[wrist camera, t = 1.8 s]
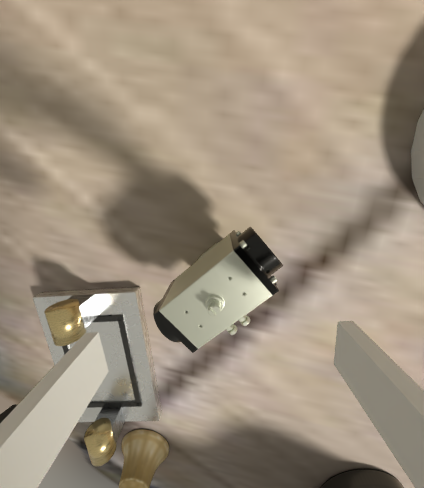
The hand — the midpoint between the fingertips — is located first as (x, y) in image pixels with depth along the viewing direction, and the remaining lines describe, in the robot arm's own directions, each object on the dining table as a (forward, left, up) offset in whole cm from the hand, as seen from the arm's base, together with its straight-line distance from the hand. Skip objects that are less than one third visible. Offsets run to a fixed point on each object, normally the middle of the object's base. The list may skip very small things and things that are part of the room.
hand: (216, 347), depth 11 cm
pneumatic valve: (0, 0, -16) cm, 16 cm away
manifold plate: (-14, +18, -15) cm, 28 cm away
